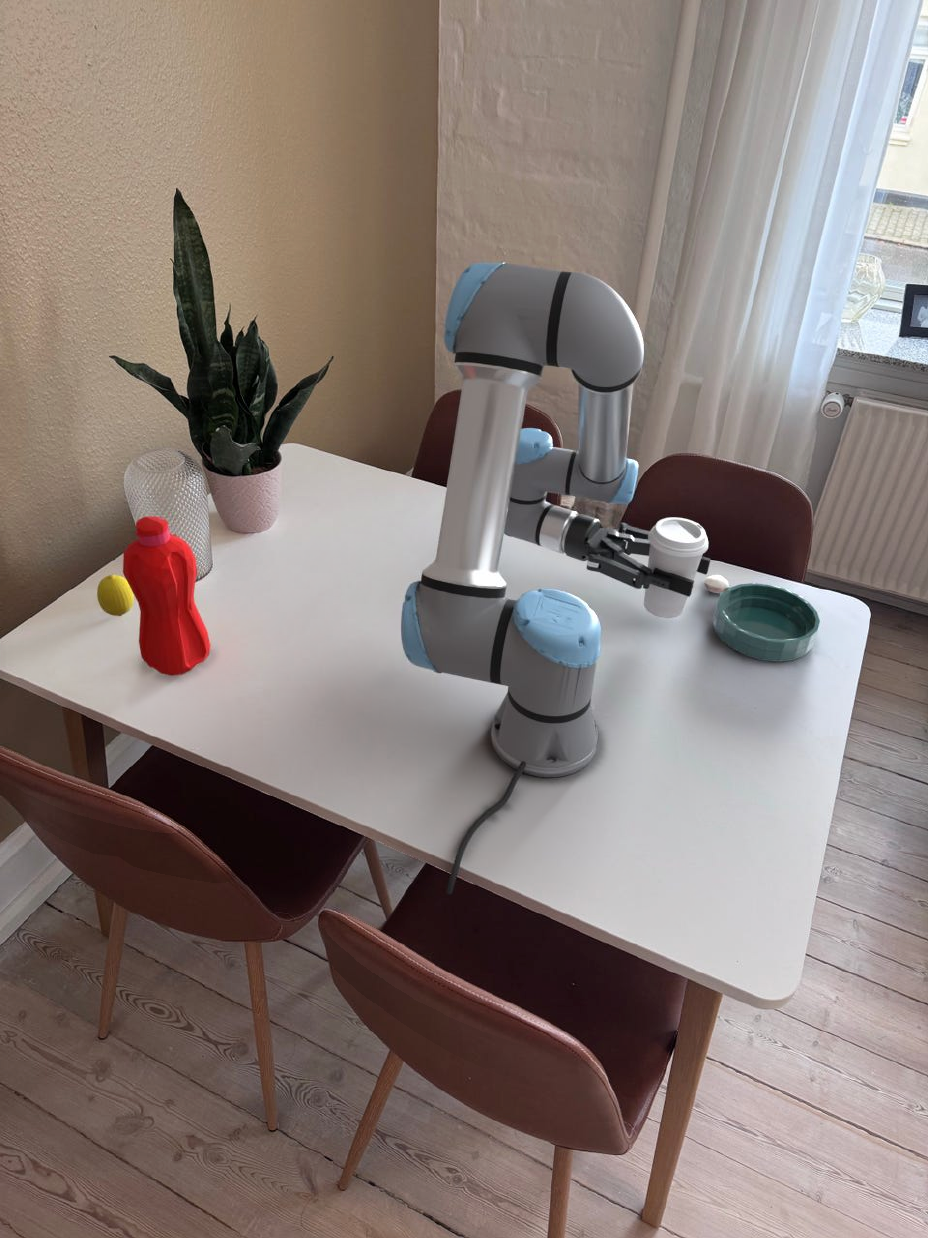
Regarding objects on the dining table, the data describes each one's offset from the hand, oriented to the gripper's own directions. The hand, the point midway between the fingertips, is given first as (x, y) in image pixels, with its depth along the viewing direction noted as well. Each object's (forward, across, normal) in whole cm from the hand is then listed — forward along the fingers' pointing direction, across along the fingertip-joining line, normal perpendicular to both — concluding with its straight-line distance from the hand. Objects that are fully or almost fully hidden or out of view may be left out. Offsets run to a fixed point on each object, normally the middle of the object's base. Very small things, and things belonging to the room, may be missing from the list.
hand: (700, 577), depth 149 cm
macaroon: (-1, -16, -12) cm, 20 cm away
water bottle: (-65, +51, -12) cm, 83 cm away
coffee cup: (-5, 0, -8) cm, 10 cm away
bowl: (+11, -8, -11) cm, 17 cm away
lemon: (-81, +49, -12) cm, 95 cm away
